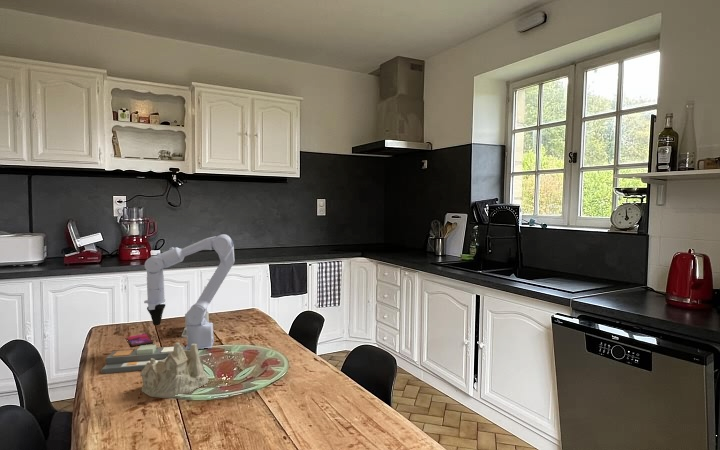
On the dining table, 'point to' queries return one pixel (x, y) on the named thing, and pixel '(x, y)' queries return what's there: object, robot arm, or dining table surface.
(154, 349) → the sage key
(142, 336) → the smartphone
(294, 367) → the dining table surface
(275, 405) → the dining table surface
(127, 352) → the orange key
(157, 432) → the dining table surface
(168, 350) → the cream key
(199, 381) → the ceramic cottage
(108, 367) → the keypad
